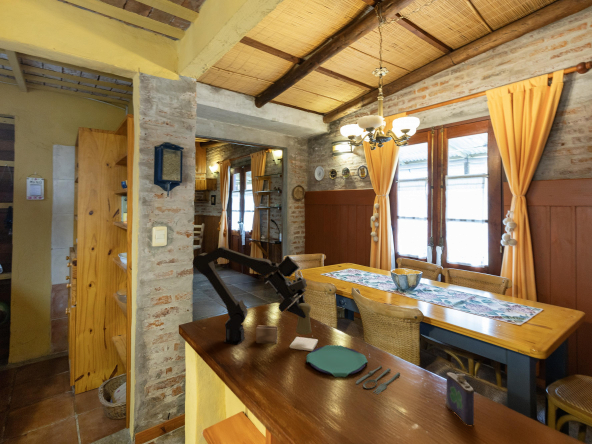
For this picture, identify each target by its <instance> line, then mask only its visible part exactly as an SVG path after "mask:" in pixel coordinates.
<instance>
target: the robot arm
mask: <svg viewBox="0 0 592 444" xmlns="http://www.w3.org/2000/svg"><path fill="white" fill-rule="evenodd" d="M221 258H222V259H224V260H227V261H230V262H234V263H236V264H239V265H242V266H245V267H247V268H248V269H250V270H252V271H253V272H255V273H257V274H258V275H260V276H264V277H263V281H262V282H263V285H264V284H265V285H266V284H268V283H269V284H270V285H271V286H272V287H273V288H274V290H275V291H276V292H275V294H276V295H280V296H281V298H282V299H283V300H282V302H281V303H279V304H278V310H279V311H280V312H281V313H283V312H285V311H286V312H288V313H291V314H294V315H296V316H297V317H298V316H300V317H302V318H305V317H306V315H305V313H304V312H303V310H302V309H301V307H300V306H299V304H300V303H306V300H305V294H306V293H305V292H306V291H307V290H306V287H307V286H308V285H307V279H305V278H304V277H302V276H299V277H297V278H296V281H295V282H292V281H290V280H289V281H288V280H287V279H286V278H287V277H289V278H290V277H292V276H293V274H294V273H296V271H298V270H299V269H300V266H299V264H298V263H297V262H296V261H295V259H292V258H291V257H290V255H287V256H285V258H284V259H283V260H282V261H281V262H280V263H277V262H272V261H271V260H270V259H267V258H263V257H255V256H250V255H247V254H244V253H241V252H238V251H235V250H232V249H229V248H227V247H226V246H220V247H218V248H216V249H215V250H212V251H210V252H207V253H206V252H203V253H201V254H198V255H196V256H195V257H194V258H193V261H192V265H193V267H194V268H195V269H196V270H197V271H198V272H199V273H200V274H201V275H203V276H204V277H205V278H206V279H207V280H208V282H209V283H210V285H211V286H212V288H213V289H214V290H215V292H216V294H217V295H218V296H219V298H220V299H221V301H222V302H223V304H224V305H225V307H226V308H225V309H226V310H227V314H228V319H227V320H226V322H225V323H224V327H225V339H224V340H223V343H225V344H230V345H239V344H240V343H242V342H243V341H244V340H245V339H246V337H245V329H244V325H243V324H244V322H245V320H246V318H247V316H248V306H247V305H246V304H245V303H244V301H243V299H240V300H237V299H236V298H235V296H234V295H233V293H232V292H231V291H230V289H229V287H228V286H227V285H226V283H225V282H224V280H223V279H222V278H221V276H220V275H219V273H218V271H217V269H216V265H215V263H214V261H216V260H218V259H221ZM310 312H311V311H310ZM310 312H309V314H310Z"/></svg>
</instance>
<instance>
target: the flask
mask: <svg viewBox="0 0 592 444" xmlns="http://www.w3.org/2000/svg"><path fill="white" fill-rule="evenodd" d="M465 376H466V374H465V373H456V374H455V373H453V372H446V392H445V393H446V398H445V405H446V407H447V406H448V407H447V408H448V409H449V410H450V411H451V410H452V411H453V412H455V413H456V414H457V415H458V416H459V417H460V418H461V419H460V421H461V420H462V421H463V422H464V423H465V424H467V425H473V424H474V425H475V417H474V416H475V415H474V414H475V413H474V412H475V410H474V409H475V402H474V401H475V398H474V397H475V395H474V393H475V390H474V388H473V387H472V386H471V385H470V384H469V383H468V382H467V380H466V378H465ZM452 411H451V412H452ZM453 412H452V413H453ZM458 416H457V417H458ZM462 421H461V422H462ZM463 422H462V423H463ZM464 423H463V424H464ZM465 424H464V425H465ZM467 425H466V426H467Z"/></svg>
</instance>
